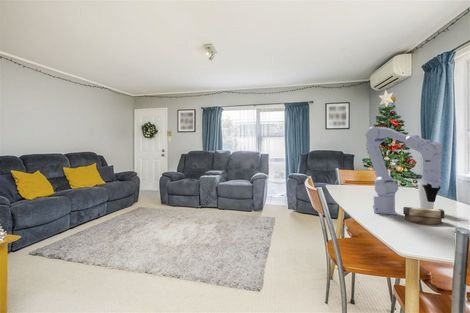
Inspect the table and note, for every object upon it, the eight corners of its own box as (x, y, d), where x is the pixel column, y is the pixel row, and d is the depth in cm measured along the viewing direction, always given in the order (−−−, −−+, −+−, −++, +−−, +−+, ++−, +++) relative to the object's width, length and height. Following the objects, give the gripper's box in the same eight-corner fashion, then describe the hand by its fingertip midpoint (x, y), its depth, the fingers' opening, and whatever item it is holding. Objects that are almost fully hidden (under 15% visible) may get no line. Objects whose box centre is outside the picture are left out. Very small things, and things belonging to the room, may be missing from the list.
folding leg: (403, 215, 107) (403, 208, 107) (402, 213, 110) (402, 206, 110) (444, 218, 101) (444, 211, 101) (442, 216, 103) (442, 209, 103)
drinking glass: (436, 213, 115) (436, 183, 115) (419, 211, 119) (418, 182, 118) (433, 210, 121) (433, 181, 120) (417, 208, 125) (417, 180, 124)
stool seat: (407, 222, 103) (407, 213, 103) (402, 215, 114) (402, 206, 114) (445, 226, 97) (445, 217, 97) (437, 218, 108) (437, 209, 108)
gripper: (448, 172, 93) (448, 206, 93) (438, 169, 105) (438, 198, 106) (425, 172, 96) (425, 204, 97) (419, 168, 109) (419, 197, 109)
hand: (431, 201), depth 102 cm, fingers closed
